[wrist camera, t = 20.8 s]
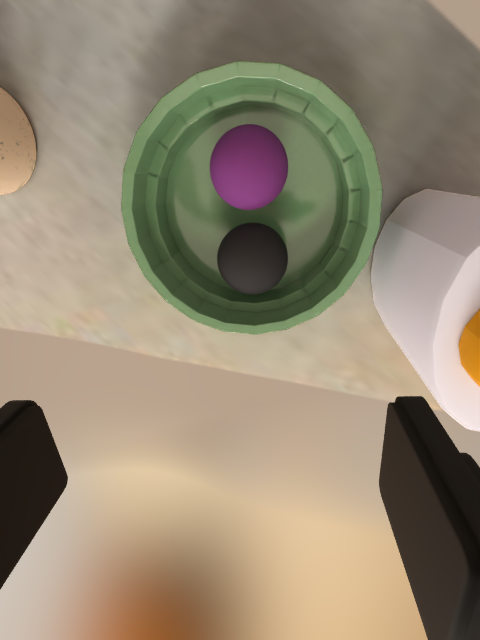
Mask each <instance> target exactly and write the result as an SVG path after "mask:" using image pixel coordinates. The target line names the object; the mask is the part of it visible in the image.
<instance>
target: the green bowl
mask: <svg viewBox="0 0 480 640" xmlns="http://www.w3.org/2000/svg"><path fill="white" fill-rule="evenodd" d="M352 110H353V109H352V108H351V107H350V106H349V105H347V104H346V103H345V102H344V101H343V100H342V99H341V98H340V97H339V96H338V95H336V94H335V93H334V92H333V91H332V90H331V89H330V88H329V87H328V86H327V85H326V84H324V83H323V82H322V81H320V80H319V79H317V78H314V77H312V76H310V75H307V74H305V73H302V72H300V71H298V70H295V69H293V68H291V67H288V66H286V65H284V64H280V63H268V62H250V61H237V62H236V61H235V62H231V63H228V64H225V65H221V66H218V67H215V68H212V69H208V70H205V71H202V72H198V73H196V74H194V75H192V76H191V77H190V78H188V79H187V80H186V81H184V82H183V83H181V84H180V85H179V86H177V87H176V88H175V89H173V90H172V91H170V92H169V93H168V94H166V95H165V96H163V97H162V99H160V100H159V102H158V103H157V104H156V106H155V107H154V109H153V110H152V111H151V113H150V114H149V115H148V117H147V118H146V120H145V121H144V122H143V124H142V125H141V126H140V128H139V129H138V130H137V133H136V135H135V138H134V141H133V144H132V146H131V149H130V152H129V155H128V158H127V161H126V164H125V166H124V171H123V185H122V202H121V208H122V209H121V211H122V216H123V220H124V225H125V230H126V235H127V240H128V244H129V247H130V249H131V251H132V253H133V255H134V257H135V259H136V261H137V263H138V265H139V267H140V269H141V271H142V273H143V275H144V276H145V278H146V279H147V280H148V281H149V282H150V283H151V285H152V286H153V287H154V288H155V289H156V290H157V292H158V293H159V294H160V295H161V296H162V297H163V298H164V300H165V301H166V302H168V303H169V304H171V305H172V306H173V307H175V308H176V309H178V310H179V311H181V312H182V313H184V314H185V315H186V316H188V317H189V318H191V319H192V320H194V321H196V322H199V323H202V324H204V325H207V326H210V327H213V328H215V329H218V330H221V331H224V332H233V333H244V334H254V335H255V334H262V333H269V332H275V331H281V330H287V329H289V328H291V327H294V326H296V325H298V324H300V323H303V322H305V321H307V320H309V319H312V318H314V317H316V316H318V315H319V314H321V313H322V312H323V311H324V310H326V309H327V308H328V307H329V306H331V305H332V304H333V303H334V302H336V301H337V300H338V299H339V298H340V297H342V296H343V295H344V294H345V293H346V291H347V290H348V289H349V287H350V286H351V285H352V283H353V282H354V280H355V279H356V278H357V276H358V275H359V274H360V272H361V271H362V269H363V268H364V267H365V265H366V263H367V261H368V258H369V255H370V253H371V250H372V248H373V245H374V242H375V240H376V237H377V234H378V232H379V228H380V216H381V204H382V192H383V189H382V183H381V178H380V173H379V169H378V164H377V159H376V154H375V149H374V148H373V145H372V143H371V141H370V139H369V137H368V136H367V134H366V132H365V130H364V128H363V127H362V125H361V123H360V121H359V119H358V118H357V116H356V114H355V112H354V111H352ZM244 124H255V125H260V126H263V127H265V128H267V129H269V130H270V131H272V132H273V133H274V134H275V135H276V136H277V137H278V138H279V139H280V141H281V143H282V144H283V146H284V148H285V151H286V154H287V158H288V175H287V179H286V183H285V185H284V187H283V189H282V191H281V192H280V194H279V195H278V196H277V197H276V198H275V199H274V200H273V201H272V202H271V203H269V204H268V205H266V206H264V207H262V208H259V209H254V210H243V209H239V208H236V207H233V206H231V205H230V204H228V203H227V202H225V201H224V200H223V199H222V198H221V197H220V196H219V194H218V193H217V192H216V190H215V188H214V186H213V183H212V180H211V176H210V159H211V155H212V151H213V149H214V147H215V145H216V143H217V142H218V140H219V139H220V138H221V137H222V136H223V135H224V134H225V133H226V132H227V131H229V130H230V129H232V128H234V127H236V126H239V125H244ZM245 223H261V224H265V225H267V226H269V227H271V228H272V229H274V230H275V231H276V232H277V233H278V234H279V235H280V236H281V238H282V239H283V241H284V243H285V245H286V248H287V252H288V264H287V269H286V272H285V274H284V276H283V278H282V279H281V281H280V282H279V283H278V284H277V285H276V286H275V287H273V288H272V289H271V290H269V291H267V292H264V293H261V294H254V295H252V294H244V293H241V292H238V291H236V290H234V289H233V288H231V287H230V286H229V285H228V284H227V283H226V282H225V281H224V279H223V278H222V276H221V274H220V272H219V269H218V264H217V253H218V249H219V246H220V243H221V241H222V240H223V238H224V237H225V235H226V234H227V233H228V232H229V231H231V230H232V229H233V228H235V227H237V226H239V225H241V224H245Z"/></svg>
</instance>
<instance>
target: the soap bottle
mask: <svg viewBox="0 0 480 640" xmlns="http://www.w3.org/2000/svg"><path fill="white" fill-rule="evenodd" d="M370 277H371V285H372V293H373V301H374V304H375V307H376V309H377V311H378V313H379V315H380V317H381V319H382V321H383V324H384V325H385V327H386V328H387V329H388V331H389V332H390V334H391V335H392V337H393V338H394V340H395V341H396V343H397V344H398V345H399V347H400V348H401V350H402V351H403V353H404V354H405V356H406V357H407V359H408V360H409V361H410V363H411V364H412V366H413V367H414V369H415V370H416V372H417V373H418V375H419V376H420V377H421V379H422V380H423V382H424V383H425V385H426V386H427V388H428V389H429V391H430V392H431V393H432V395H433V396H434V398H435V399H436V401H437V402H438V404H439V405H440V407H441V408H442V409H443V410H444V411H445V412H446V413H448V414H449V415H450V416H451V417H452V418H454V419H455V420H456V421H457V422H458V423H460V424H461V425H462V426H463V427H465V428H467V429H469V430H475V431H480V197H477V196H471V195H464V194H458V193H452V192H445V191H439V190H432V189H424V190H422V191H420V192H418V193H415V194H413V195H411V196H409V197H407V198H405V199H404V200H403V201H402V202H401V203H400V204H399V205H398V207H397V208H396V209H395V210H394V211H393V212H392V213H391V215H390V216H389V217H388V218H387V219H386V222H385V224H384V226H383V229H382V231H381V233H380V236H379V238H378V240H377V243H376V245H375V248H374V255H373V262H372V269H371V276H370Z"/></svg>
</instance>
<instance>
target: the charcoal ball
mask: <svg viewBox="0 0 480 640" xmlns="http://www.w3.org/2000/svg"><path fill="white" fill-rule="evenodd" d="M217 264H218V269H219V272H220V274H221V276H222V278H223V279H224V281H225V282H226V283H227V284H228V285H229V286H230V287H231V288H233V289H234V290H236V291H238V292H241V293H244V294H252V295H254V294H261V293H264V292H267V291H269V290H271V289H272V288H273V287H275V286H276V285H277V284H278V283H279V282H280V281H281V279H282V278H283V276H284V274H285V272H286V269H287V264H288V252H287V248H286V245H285V243H284V241H283V239H282V238H281V236H280V235H279V234H278V233H277V232H276V231H275V230H274V229H272V228H271V227H269V226H267V225H265V224H261V223H245V224H241V225H239V226H237V227H235V228H233V229H232V230H231V231H229V232H228V233H227V234H226V235H225V237H224V238H223V240H222V241H221V243H220V246H219V249H218V253H217Z"/></svg>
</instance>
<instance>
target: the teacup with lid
mask: <svg viewBox="0 0 480 640" xmlns="http://www.w3.org/2000/svg"><path fill="white" fill-rule="evenodd" d="M35 163H36V143H35V137H34V133H33V130H32V128H31V125H30V123H29V121H28V119H27V117H26V115H25V113H24V112H23V110H22V109H21V107H20V106H19V105H18V103H17V102H16V101H15V100H14V99H13V98H12V97H11V96H10V95H9V94H8V93H7V92H6V91H5V90H4V89H2V88H1V87H0V195H3V194H9V193H12V192H14V191H17V190H18V189H20V188H21V187H23V186H24V185H25V184H26V183H27V181H28V180H29V179H30V177H31V175H32V173H33V171H34V167H35Z"/></svg>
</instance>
